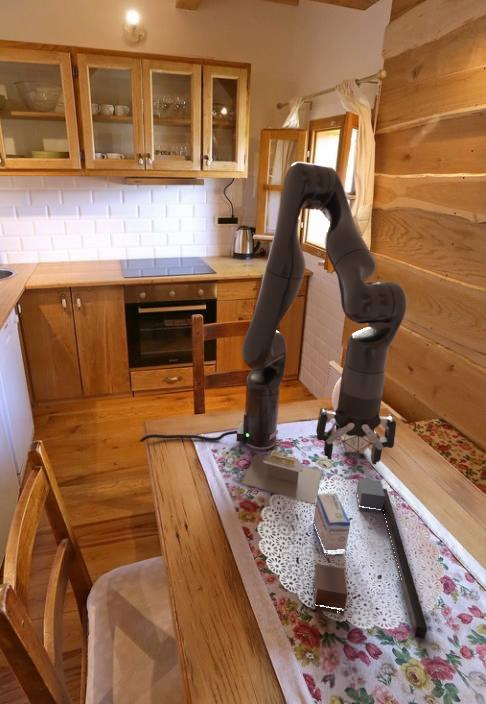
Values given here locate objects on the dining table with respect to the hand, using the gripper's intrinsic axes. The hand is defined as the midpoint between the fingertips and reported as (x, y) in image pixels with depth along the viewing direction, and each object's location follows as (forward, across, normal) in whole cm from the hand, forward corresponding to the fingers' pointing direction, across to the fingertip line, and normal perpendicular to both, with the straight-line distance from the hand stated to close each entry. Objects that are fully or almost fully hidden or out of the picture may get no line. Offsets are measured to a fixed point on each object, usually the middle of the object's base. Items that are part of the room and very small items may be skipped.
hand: (350, 459), depth 81 cm
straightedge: (+19, -11, +4) cm, 22 cm away
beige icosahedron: (+19, -7, -28) cm, 35 cm away
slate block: (+19, -8, -9) cm, 22 cm away
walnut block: (+19, +4, +16) cm, 25 cm away
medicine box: (+19, +3, +2) cm, 19 cm away
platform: (+19, +12, -15) cm, 27 cm away
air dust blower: (+19, -6, -46) cm, 50 cm away
